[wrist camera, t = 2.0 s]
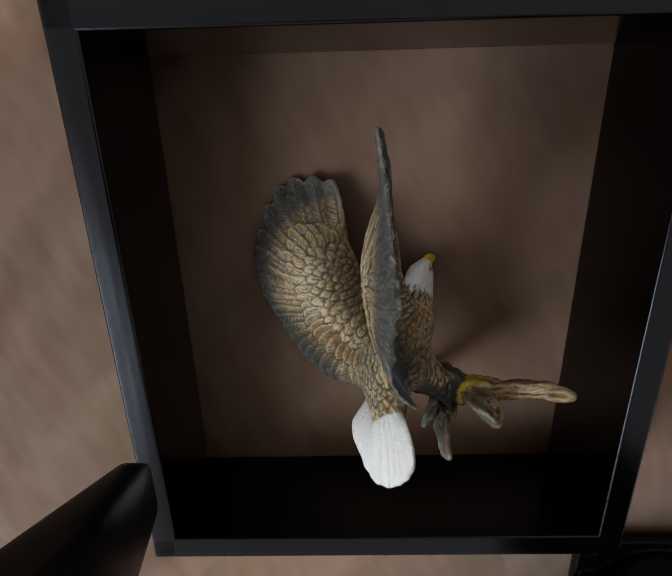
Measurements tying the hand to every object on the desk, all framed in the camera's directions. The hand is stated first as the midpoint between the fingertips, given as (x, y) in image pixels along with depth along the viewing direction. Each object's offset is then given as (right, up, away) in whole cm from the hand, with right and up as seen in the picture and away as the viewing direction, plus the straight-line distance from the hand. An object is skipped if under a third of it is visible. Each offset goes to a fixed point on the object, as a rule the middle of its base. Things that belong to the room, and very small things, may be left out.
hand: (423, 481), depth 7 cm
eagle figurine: (0, +3, +9) cm, 10 cm away
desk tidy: (0, +3, +9) cm, 9 cm away
